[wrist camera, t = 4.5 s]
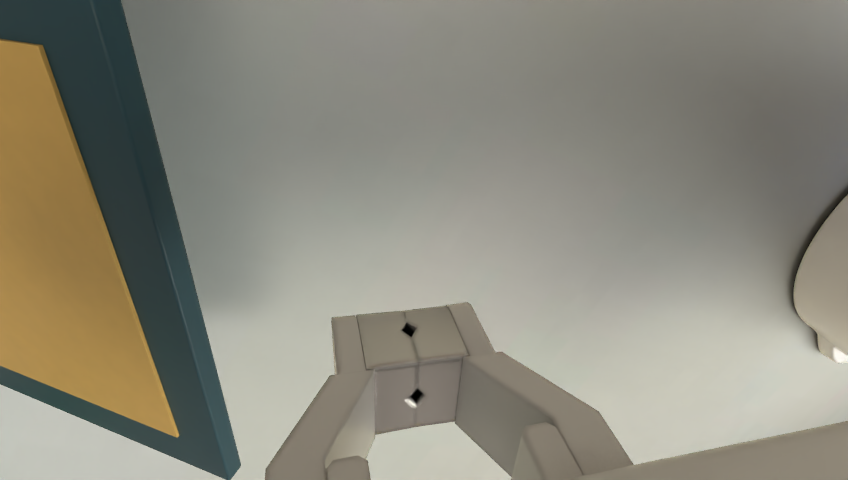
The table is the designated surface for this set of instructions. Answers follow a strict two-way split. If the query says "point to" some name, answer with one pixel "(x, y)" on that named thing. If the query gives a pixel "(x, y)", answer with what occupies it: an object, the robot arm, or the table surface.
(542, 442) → the robot arm
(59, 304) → the sign board
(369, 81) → the table surface
